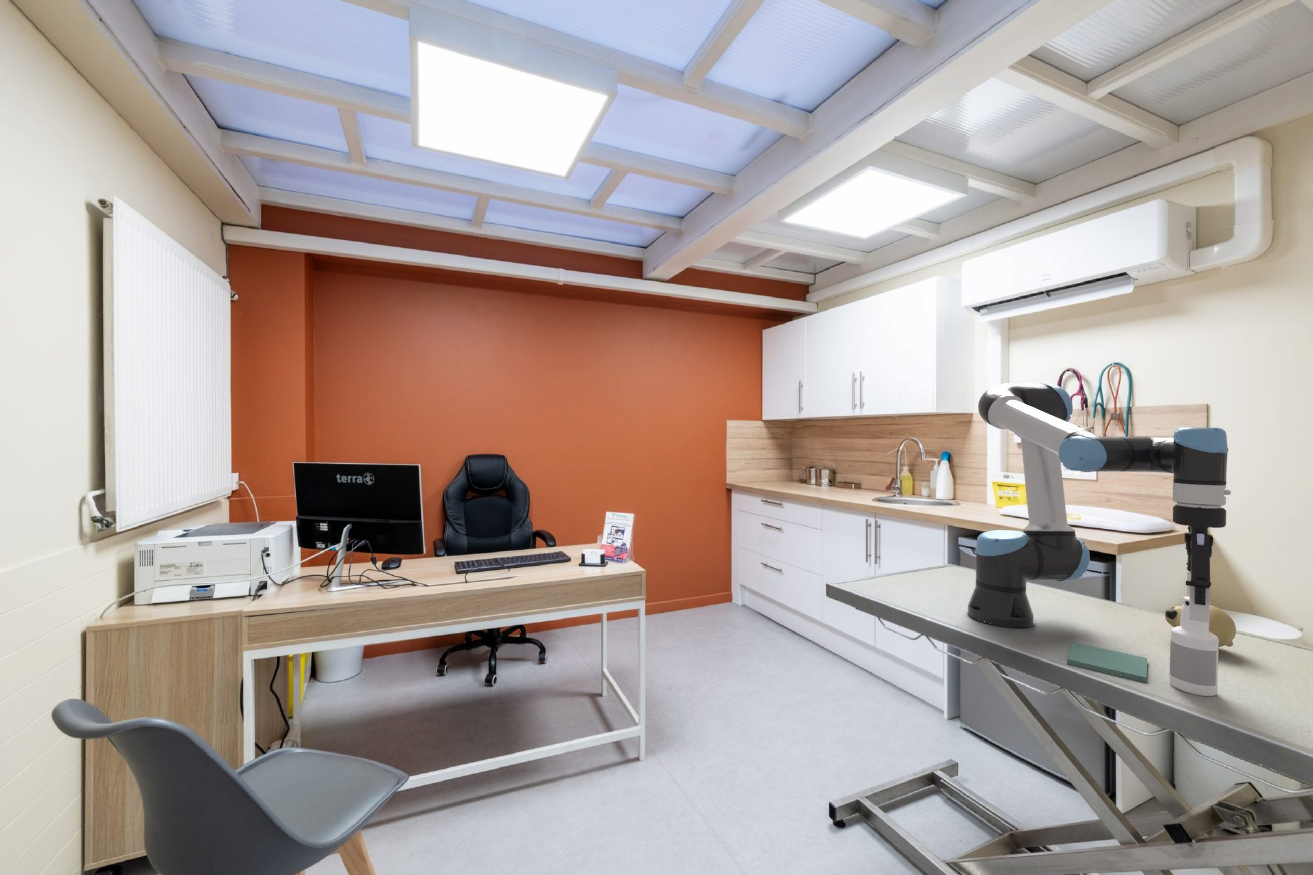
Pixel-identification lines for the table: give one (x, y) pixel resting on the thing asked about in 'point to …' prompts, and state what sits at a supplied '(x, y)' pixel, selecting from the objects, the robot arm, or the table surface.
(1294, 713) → the table surface
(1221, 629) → the toy pig
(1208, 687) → the spray bottle
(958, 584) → the table surface
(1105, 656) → the mat
